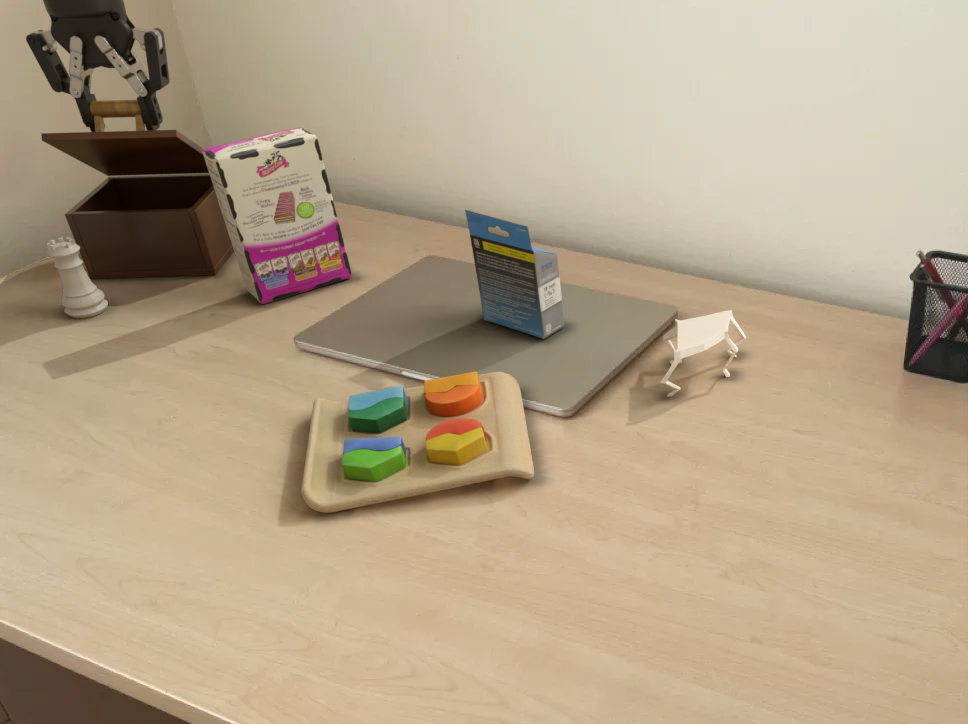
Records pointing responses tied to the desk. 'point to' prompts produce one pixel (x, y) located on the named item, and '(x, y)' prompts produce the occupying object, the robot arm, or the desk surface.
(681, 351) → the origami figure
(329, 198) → the candy bar box
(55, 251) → the rook chess piece
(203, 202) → the compartment
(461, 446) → the puzzle board
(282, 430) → the desk surface
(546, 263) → the tape cartridge
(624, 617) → the desk surface
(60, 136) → the compartment lid
